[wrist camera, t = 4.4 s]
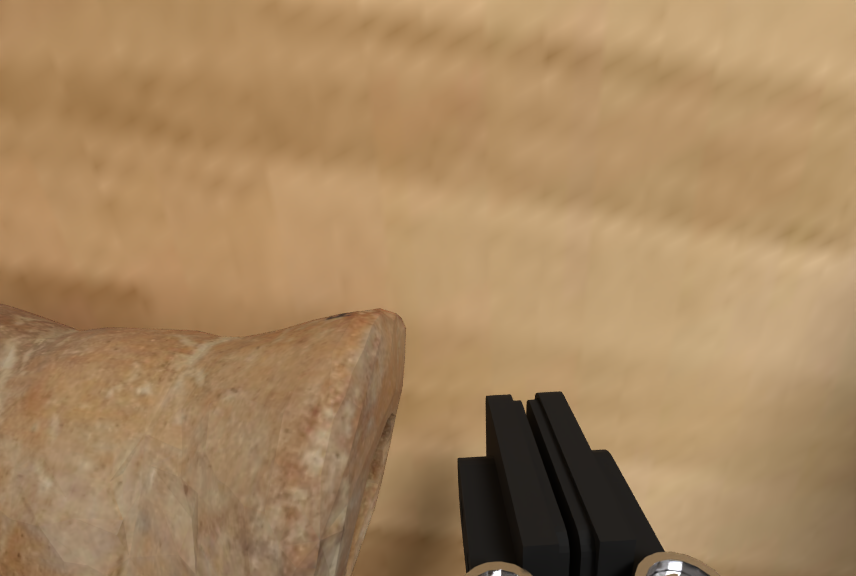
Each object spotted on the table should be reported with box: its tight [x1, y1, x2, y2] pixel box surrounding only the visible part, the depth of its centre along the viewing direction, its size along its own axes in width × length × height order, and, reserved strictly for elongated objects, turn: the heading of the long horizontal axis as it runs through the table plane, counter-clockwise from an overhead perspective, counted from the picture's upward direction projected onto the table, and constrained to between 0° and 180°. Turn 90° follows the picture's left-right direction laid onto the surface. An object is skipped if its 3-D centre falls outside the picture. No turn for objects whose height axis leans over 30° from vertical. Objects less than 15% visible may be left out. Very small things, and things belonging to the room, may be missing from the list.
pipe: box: [0, 304, 406, 576], centre depth 10 cm, size 9×16×10 cm, turn 86°
